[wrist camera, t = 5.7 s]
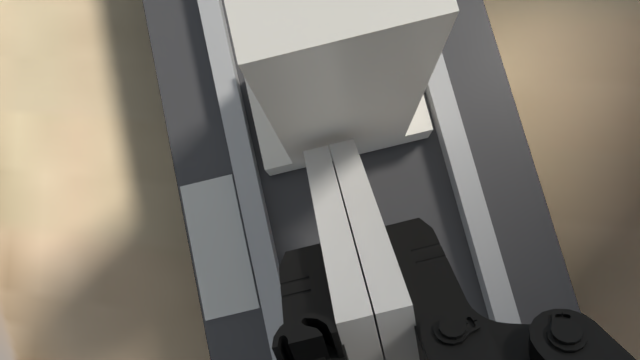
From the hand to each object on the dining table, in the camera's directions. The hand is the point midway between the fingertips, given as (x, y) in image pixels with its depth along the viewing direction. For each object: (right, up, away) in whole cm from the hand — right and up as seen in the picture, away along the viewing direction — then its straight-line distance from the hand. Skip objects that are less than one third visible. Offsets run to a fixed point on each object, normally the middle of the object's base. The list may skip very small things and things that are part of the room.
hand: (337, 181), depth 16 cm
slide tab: (0, +3, +3) cm, 4 cm away
